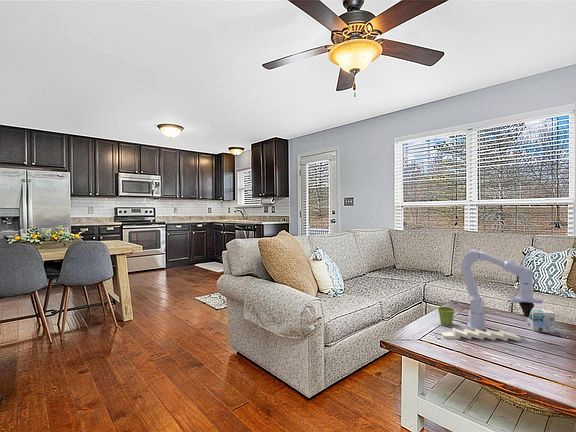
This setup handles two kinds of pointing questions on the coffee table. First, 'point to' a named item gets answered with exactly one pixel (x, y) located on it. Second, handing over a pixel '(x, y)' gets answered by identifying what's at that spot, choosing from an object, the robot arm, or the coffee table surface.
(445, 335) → the domino
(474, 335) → the domino
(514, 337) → the domino
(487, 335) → the domino
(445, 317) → the plant pot
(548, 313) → the light bulb box
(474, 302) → the robot arm
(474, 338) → the mat
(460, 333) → the domino
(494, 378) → the coffee table surface
